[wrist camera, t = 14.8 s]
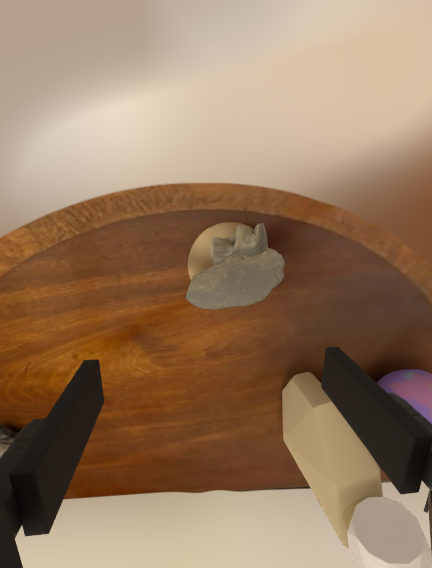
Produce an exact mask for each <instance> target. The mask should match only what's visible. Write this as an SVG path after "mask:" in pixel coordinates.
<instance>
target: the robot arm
mask: <svg viewBox="0 0 432 568" xmlns="http://www.w3.org/2000/svg"><path fill="white" fill-rule="evenodd" d="M321 388H322V389H323V390H324V392H325V393H326V394H327V396H328V397H329V399H330V400H331V401H332V403H333V404H334V405H335V407H336V408H337V409H338V411H339V412H340V413H341V415H342V416H343V417H344V419H345V420H346V421H347V423H348V424H349V425H350V427H351V428H352V430H353V431H354V432H355V434H356V435H357V436H358V438H359V439H360V440H361V442H362V443H363V444H364V446H365V447H366V448H367V450H368V451H369V452H370V454H371V455H372V456H373V458H374V459H375V460H376V462H377V463H378V465H379V466H380V467H381V469H382V470H383V471H384V473H385V474H386V475H387V477H388V478H389V479H390V481H391V482H392V483H393V485H394V486H395V487H396V489H397V490H398V491H399V493H400V494H407V493H416V492H419V489H420V485H421V481H423V482H424V483H425V484H426V486H427V487H429V489H430V491H429V494H428V498H427V501H426V505H425V508H424V511H425V512H428V509H429V521H430V537H431V553H432V423H431V422H430V421H428V420H427V419H426V418H425V417H424V416H422V415H421V413H419V412H418V411H417V410H416V409H414V407H413V406H411V405H410V404H409V403H408V402H407V401H406V400H405V399H403V398H401V397H400V396H398V395H396V394H394V393H387V392H386V391H385V390H384V389H383V388H382V387H381V386H379V385H378V384H377V383H376V382H375V381H374V380H373V379H372V378H371V377H370V376H369V375H368V374H367V373H366V372H364V371H363V370H362V369H361V368H360V367H359V366H358V365H357V364H356V363H355V362H354V361H353V360H352V359H350V358H349V357H348V356H347V355H346V354H345V353H344V352H343V351H342V350H341V349H340V348H339V347H330V348H326V352H325V360H324V368H323V376H322V384H321ZM103 403H104V397H103V389H102V381H101V374H100V366H99V360H84V361H83V363H82V364H81V366H80V367H79V369H78V370H77V372H76V373H75V375H74V376H73V378H72V379H71V381H70V382H69V384H68V385H67V387H66V388H65V390H64V392H63V393H62V395H61V396H60V398H59V399H58V401H57V402H56V404H55V405H54V407H53V408H52V410H51V411H50V413H49V414H48V416H47V417H46V418H41V419H33V420H32V421H31V422H29V423H28V424H27V425H26V426H25V427H23V428H22V429H21V431H20V432H19V433H18V435H17V436H16V437H15V439H14V441H13V442H12V443H11V444H10V445H9V447H8V448H7V451H5V452H4V454H3V455H2V456H1V458H0V568H23V566H22V563H21V560H20V556H19V552H18V549H17V545H16V542H15V537H16V535H17V533H18V531H19V529H20V527H21V525H22V526H23V529H24V534H25V536H32V535H41V534H49V532H50V530H51V527H52V525H53V522H54V520H55V518H56V515H57V513H58V511H59V508H60V506H61V503H62V501H63V499H64V496H65V494H66V492H67V489H68V487H69V484H70V482H71V480H72V477H73V475H74V472H75V470H76V468H77V465H78V463H79V461H80V458H81V456H82V453H83V451H84V449H85V446H86V444H87V441H88V439H89V437H90V434H91V432H92V430H93V427H94V425H95V422H96V420H97V418H98V415H99V413H100V411H101V408H102V406H103Z"/></svg>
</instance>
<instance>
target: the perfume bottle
mask: <svg viewBox="0 0 432 568" xmlns="http://www.w3.org/2000/svg"><path fill="white" fill-rule="evenodd" d="M282 405H283V440H284V442H285V443H286V445H287V447H288V449H289V450H290V452H291V454H292V456H293V457H294V459H295V461H296V463H297V465H298V466H299V468H300V470H301V472H302V473H303V475H304V477H305V479H306V480H307V482H308V484H309V486H310V487H311V489H312V491H313V493H314V494H315V496H316V498H317V500H318V501H319V503H320V505H321V507H322V509H323V510H324V512H325V514H326V516H327V517H328V519H329V521H330V523H331V524H332V526H333V528H334V530H335V531H336V533H337V535H338V537H339V538H340V540H341V542H342V543H343V545H344V546H346V547H348V548H349V550H350V554H351V559H352V563H353V565H354V568H432V553H431V548H430V546H429V544H428V542H427V540H426V538H425V536H424V533H423V531H422V529H421V527H420V524H419V522H418V520H417V518H416V517H415V516H414V515H413V514H412V513H411V512H410V511H409V510H407V509H406V508H405V507H404V506H403V505H402V504H401V503H398V502H396V501H393V500H391V499H388V498H385V497H383V496H382V485H381V476H380V469H379V467H378V465H377V464H376V462H375V461H374V459H373V457H372V456H371V454H370V452H369V451H368V450H367V448H366V447H365V446H364V444H363V443H362V442H361V440H360V439H359V438H358V436H357V435H356V434H355V432H354V431H353V430H352V428H351V427H350V425H349V424H348V423H347V421H346V420H345V419H344V417H343V416H342V415H341V413H340V412H339V411H338V409H337V408H336V407H335V405H334V404H333V403H332V401H331V400H330V399H329V397H328V396H327V394H326V393H325V392H324V390H323V389H322V388H321V383H320V382H319V381H318V380H317V378H316V377H315V376H314V375H313V374H312V373H310V372H304V373H301V374H298V375H294V377H293V378H292V379H291V380H290V382H289V383H288V384H287V385H286V387H285V388H284V389H283V391H282Z"/></svg>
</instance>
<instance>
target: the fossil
mask: <svg viewBox="0 0 432 568" xmlns="http://www.w3.org/2000/svg"><path fill="white" fill-rule="evenodd" d="M210 247H211V258H212V261H213V263H214V265H213V266H211V267H210V268H207V269H205V270H204V271H202V272H200V273H198V274H196V275H194V276H193V277H192V279H191V283H190V285H189V288H188V292H187V294H186V299H187V300H188V301H189V302H190V303H191V304H193V305H195V306H197V307H199V308H201V309H221V308H230V307H233V306H246V305H250V304H253V303H257V302H259V301H262V300H263V299H264V298H265V297H267V295H268V294H269V293H270V291H271V290H272V289H273V288H275V287H276V286H277V285H278V284H279V283H280V282H281V281H282V279H283V278H284V276H285V275H284V273H283V268H284V265H285V261H284V259H283V256H282V255H280V254H279V253H278V252H277V251H276V250H273V249H272V248H267V235H266V230H265V227H264V224H263V223H261V224H257V226H256V227H255V229H254V230H253V231H250V230H249V228H248V227H245V228H244V227H243V226H238V227H236V232H235V234H234V235H233V236H231V237H229V238H228V239H227V238H220V237H215V238H211V240H210Z"/></svg>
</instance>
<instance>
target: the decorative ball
mask: <svg viewBox="0 0 432 568" xmlns="http://www.w3.org/2000/svg"><path fill="white" fill-rule="evenodd" d="M376 383H377V384H378V385H379V386H381V387H382V388H383V389H384V390H385V391H386V392H387V393H394V394H396V395H398V396H400V397H401V398H403V399H405V400H406V401H407V402H408V403H409V404H410V405H411V406H413V407H414V409H416V410H417V411H418V412H419V413H421V415H422V416H424V417H425V418H426V419H427V420H428V421H430V422H431V423H432V374H431V373H428V372H426V371H423V370H420V369H415V370H412V369H406V370H398V371H394V372H391V373H389V374H387V375H385V376H383V377H382V378H381V379H380V380H378V381H377V382H376Z"/></svg>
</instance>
